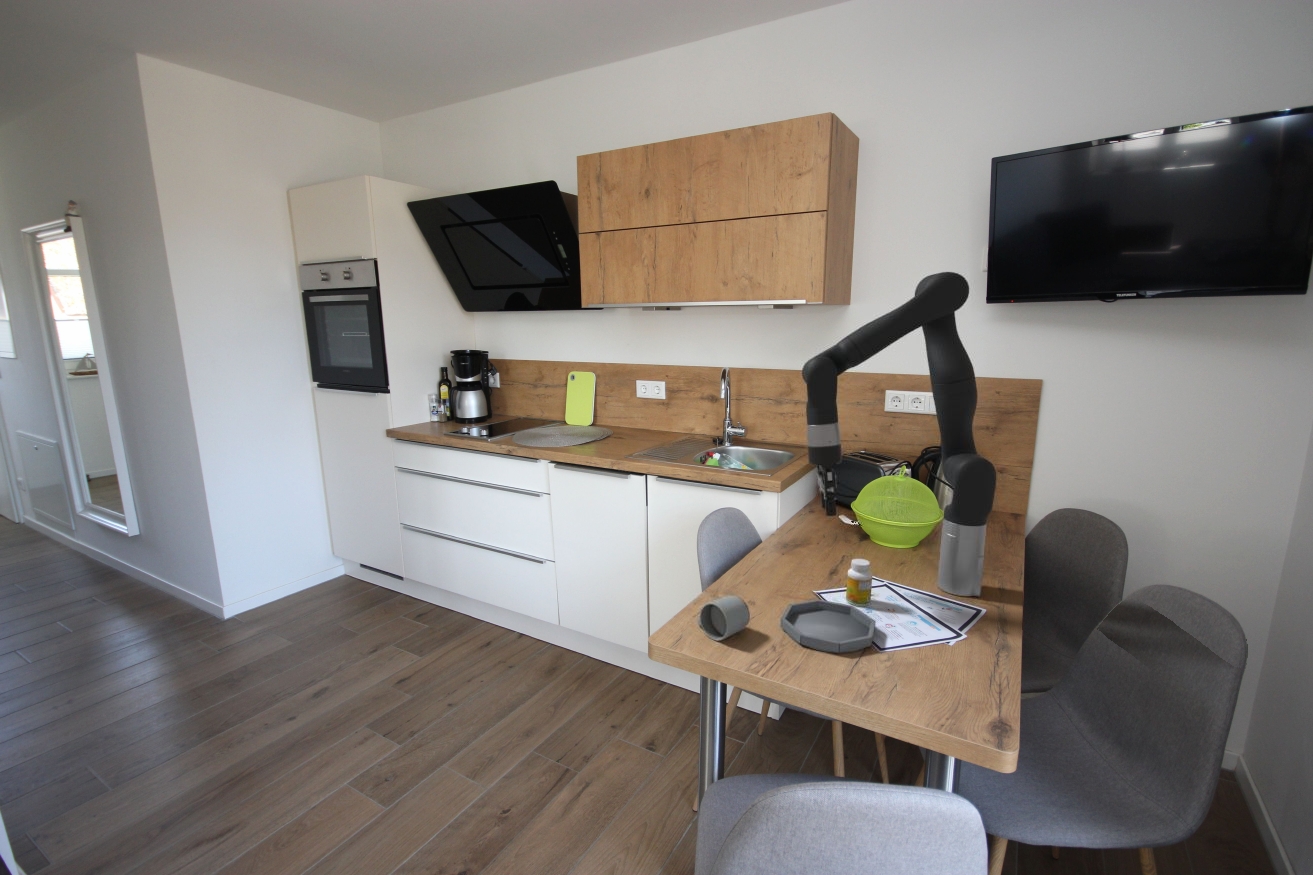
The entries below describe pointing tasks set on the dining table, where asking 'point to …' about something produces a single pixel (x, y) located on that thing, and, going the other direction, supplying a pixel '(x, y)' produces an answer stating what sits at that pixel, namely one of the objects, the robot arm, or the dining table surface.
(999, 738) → the dining table surface
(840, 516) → the fork
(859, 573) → the supplement bottle
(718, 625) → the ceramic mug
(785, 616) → the dish
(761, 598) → the dining table surface
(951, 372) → the robot arm
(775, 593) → the dining table surface
